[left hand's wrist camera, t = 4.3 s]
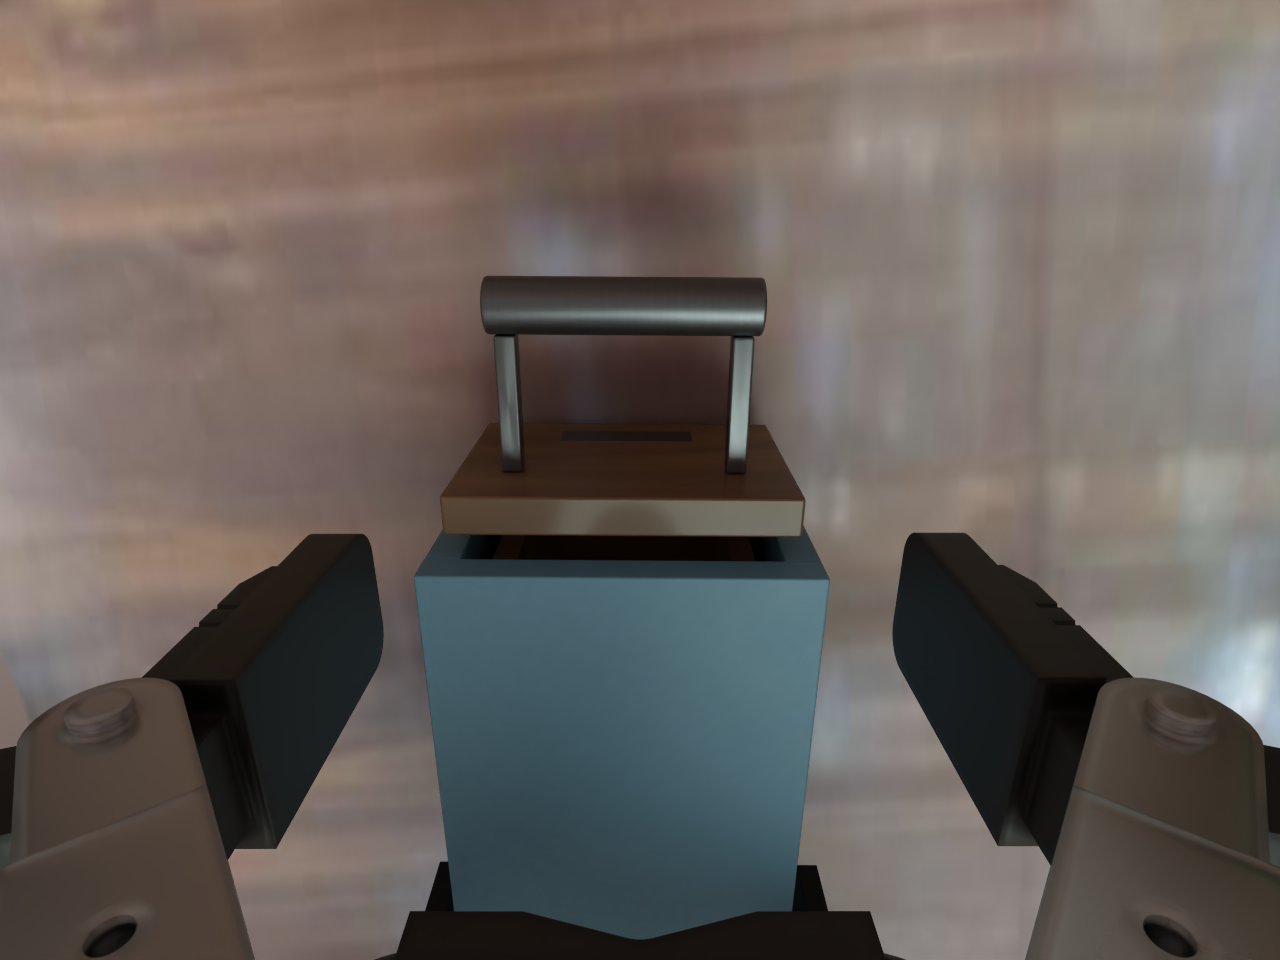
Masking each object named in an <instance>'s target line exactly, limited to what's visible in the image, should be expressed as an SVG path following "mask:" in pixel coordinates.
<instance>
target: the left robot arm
mask: <svg viewBox="0 0 1280 960" xmlns="http://www.w3.org/2000/svg"><path fill="white" fill-rule="evenodd" d="M217 606H218V607H217V609H213V610H212V611H211V612H210V613H209V614H208V615H206V616H205V617H204V618H203V619H202V620H201V621H200V622H199V627H194V628H193V629H192V630H191V631H190V632H189V633H188V634H187V635H186V636H185V637H184V638H183V639H182V640H181V641H179V642H178V643H177V644H176V645H175V646H174V647H173V648H172V649H171V650H170V651H169V652H168V653H167V654H166V655H165V656H164V657H163V658H162V659H161V660H160V661H159V662H158V663H157V664H156V665H155V666H153V667H152V668H151V669H150V670H149V671H148V672H147V673H146V674H145V675H144V676H143V677H142V678H133V679H125V680H120V681H115V682H111V683H107V684H104V685H100V686H97V687H94V688H91V689H88V690H86V691H83V692H81V693H79V694H76V695H74V696H72V697H70V698H68V699H66V700H64V701H62V702H60V703H58V704H57V705H55V706H53V707H52V708H50V709H48V710H47V711H46V712H44V713H43V714H42V715H40V716H39V717H38V718H36V719H35V720H34V721H33V722H32V723H31V724H30V725H29V726H28V727H27V728H26V729H25V731H24V732H23V733H22V735H21V737H20V738H19V740H18V743H17V746H14V747H9V748H4V749H0V960H255V958H254V955H253V951H252V947H251V944H250V940H249V936H248V933H247V929H246V925H245V922H244V918H243V914H242V911H241V907H240V903H239V900H238V896H237V892H236V889H235V885H234V881H233V878H232V874H231V870H230V867H229V863H228V859H229V857H230V856H231V854H232V853H233V851H234V849H276V848H277V846H278V844H279V843H280V841H281V839H282V837H283V836H284V834H285V832H286V830H287V828H288V827H289V825H290V823H291V821H292V819H293V818H294V816H295V814H296V812H297V811H298V809H299V807H300V805H301V803H302V802H303V800H304V798H305V796H306V794H307V793H308V791H309V789H310V787H311V786H312V784H313V782H314V780H315V778H316V777H317V775H318V773H319V771H320V769H321V768H322V766H323V764H324V762H325V761H326V759H327V757H328V755H329V753H330V752H331V750H332V748H333V746H334V744H335V743H336V741H337V739H338V737H339V735H340V734H341V732H342V730H343V728H344V727H345V725H346V723H347V721H348V719H349V718H350V716H351V714H352V712H353V710H354V709H355V707H356V705H357V703H358V702H359V700H360V698H361V696H362V694H363V693H364V691H365V689H366V687H367V685H368V684H369V682H370V680H371V678H372V677H373V675H374V673H375V671H376V669H377V667H378V665H379V662H380V658H381V654H382V648H383V635H384V633H383V622H382V615H381V608H380V601H379V595H378V588H377V581H376V574H375V568H374V561H373V554H372V549H371V545H370V542H369V540H368V538H367V537H366V536H365V535H364V534H310V535H308V536H307V537H306V538H305V539H304V540H303V541H302V542H301V543H300V544H299V545H298V546H297V547H296V548H295V549H294V550H293V551H292V552H291V553H290V554H289V555H288V556H287V557H286V558H285V559H284V560H283V561H282V562H281V563H280V564H279V565H278V566H272V567H270V568H268V569H266V570H264V571H262V572H261V573H259V574H257V575H255V576H253V577H251V578H250V579H248V580H246V581H244V582H242V583H240V584H239V585H238V586H237V587H236V588H235V589H234V590H232V591H231V592H230V593H229V594H228V595H227V596H226V597H225V598H224V599H223V600H222V601H221V602H220V603H219V604H218V605H217ZM893 646H894V652H895V657H896V660H897V663H898V666H899V668H900V670H901V672H902V673H903V675H904V677H905V679H906V681H907V682H908V684H909V686H910V688H911V690H912V691H913V693H914V695H915V697H916V699H917V700H918V702H919V704H920V706H921V708H922V710H923V711H924V713H925V715H926V717H927V719H928V720H929V722H930V724H931V726H932V728H933V729H934V731H935V733H936V735H937V737H938V738H939V740H940V742H941V744H942V746H943V748H944V749H945V751H946V753H947V755H948V757H949V758H950V760H951V762H952V764H953V766H954V767H955V769H956V771H957V773H958V775H959V776H960V778H961V780H962V782H963V784H964V785H965V787H966V789H967V791H968V793H969V795H970V796H971V798H972V800H973V802H974V804H975V805H976V807H977V809H978V811H979V813H980V814H981V816H982V818H983V820H984V822H985V823H986V825H987V827H988V829H989V831H990V833H991V834H992V836H993V838H994V840H995V842H996V843H997V845H998V846H1039V847H1040V849H1041V851H1042V852H1043V854H1044V855H1045V857H1046V859H1047V860H1048V862H1049V864H1050V865H1051V867H1050V870H1049V874H1048V878H1047V881H1046V885H1045V889H1044V892H1043V896H1042V900H1041V903H1040V907H1039V911H1038V914H1037V918H1036V922H1035V925H1034V929H1033V933H1032V936H1031V940H1030V944H1029V947H1028V951H1027V955H1026V958H1025V960H1280V748H1276V747H1271V746H1266V745H1263V743H1262V740H1261V738H1260V736H1259V735H1258V733H1257V732H1256V731H1255V729H1254V728H1253V727H1252V726H1251V725H1250V724H1249V723H1248V722H1247V721H1246V720H1245V719H1244V718H1242V717H1241V716H1240V715H1238V714H1237V713H1236V712H1234V711H1233V710H1232V709H1230V708H1228V707H1227V706H1225V705H1223V704H1222V703H1220V702H1218V701H1216V700H1214V699H1212V698H1210V697H1208V696H1206V695H1204V694H1201V693H1199V692H1197V691H1194V690H1192V689H1189V688H1186V687H1183V686H1180V685H1176V684H1173V683H1169V682H1165V681H1160V680H1155V679H1147V678H1133V677H1132V676H1131V675H1130V674H1129V673H1128V672H1127V671H1126V670H1125V669H1124V668H1123V667H1122V666H1121V665H1120V664H1119V663H1118V662H1117V661H1116V660H1115V659H1114V658H1113V657H1112V656H1111V655H1110V654H1109V653H1108V652H1107V651H1106V650H1105V649H1104V648H1103V647H1102V646H1101V645H1099V644H1098V643H1097V642H1096V641H1095V640H1094V639H1093V638H1092V637H1091V636H1090V635H1089V634H1088V633H1087V632H1086V631H1085V630H1084V629H1083V628H1082V627H1081V626H1080V625H1075V620H1074V619H1073V618H1072V617H1071V616H1070V615H1069V614H1068V613H1067V612H1065V611H1064V610H1063V609H1062V608H1058V607H1057V603H1056V602H1055V601H1054V600H1053V599H1052V598H1051V597H1050V596H1049V595H1048V594H1047V593H1046V592H1045V591H1044V590H1043V589H1042V588H1041V587H1040V586H1039V585H1038V584H1037V583H1035V582H1034V581H1032V580H1030V579H1028V578H1026V577H1024V576H1022V575H1021V574H1019V573H1017V572H1015V571H1013V570H1011V569H1010V568H1008V567H1006V566H1004V565H997V564H996V563H995V562H994V561H993V560H992V559H991V558H990V557H989V556H988V555H987V554H986V553H985V552H984V551H983V550H982V549H981V548H980V547H979V546H978V545H977V544H976V543H975V541H974V540H973V539H972V538H971V537H970V536H968V535H967V534H965V533H912V534H911V535H910V536H909V537H908V539H907V541H906V544H905V547H904V553H903V559H902V566H901V573H900V580H899V587H898V594H897V601H896V607H895V614H894V621H893ZM375 960H905V959H902V958H899V957H896V956H892V955H889V954H885V953H883V950H882V947H881V944H880V941H879V938H878V935H877V931H876V928H875V925H874V922H873V919H872V916H871V913H870V911H756V912H752V913H749V914H745V915H741V916H737V917H733V918H729V919H725V920H721V921H717V922H713V923H709V924H705V925H702V926H698V927H694V928H690V929H686V930H682V931H678V932H674V933H670V934H666V935H662V936H658V937H655V938H649V939H631V938H625V937H622V936H618V935H614V934H610V933H606V932H602V931H598V930H594V929H590V928H586V927H582V926H578V925H575V924H571V923H567V922H563V921H559V920H555V919H551V918H547V917H543V916H539V915H535V914H531V913H528V912H524V911H410V913H409V916H408V919H407V922H406V925H405V928H404V931H403V935H402V938H401V941H400V944H399V947H398V950H397V953H395V954H391V955H388V956H384V957H381V958H378V959H375Z"/></svg>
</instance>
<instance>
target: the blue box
mask: <svg viewBox="0 0 1280 960" xmlns="http://www.w3.org/2000/svg"><path fill="white" fill-rule="evenodd" d="M501 537H502V535H446V534H444V532H443V530H442V532H441V533H440V535H439V537H438V538H437V540H436V542H435V543H434V545H433V547H432V548H431V550H430V552H429V553H428V555H427V557H426V559H425V560H424V561H423V562H422V564H421V566H420V567H419V569H418V571H417V572H416V574H415V576H414V581H415V589H416V597H417V606H418V614H419V622H420V631H421V639H422V647H423V656H424V664H425V672H426V681H427V689H428V697H429V705H430V714H431V722H432V730H433V739H434V747H435V755H436V764H437V772H438V780H439V789H440V797H441V805H442V814H443V822H444V830H445V839H446V847H447V855H448V863H449V872H450V880H451V888H452V897H453V905H454V911H524V912H528V913H531V914H535V915H539V916H543V917H547V918H551V919H555V920H559V921H563V922H567V923H571V924H575V925H578V926H582V927H586V928H590V929H594V930H598V931H602V932H606V933H610V934H614V935H618V936H622V937H625V938H631V939H649V938H655V937H658V936H662V935H666V934H670V933H674V932H678V931H682V930H686V929H690V928H694V927H698V926H702V925H705V924H709V923H713V922H717V921H721V920H725V919H729V918H733V917H737V916H741V915H745V914H749V913H752V912H756V911H792V906H793V897H794V888H795V880H796V871H797V862H798V854H799V845H800V836H801V827H802V819H803V810H804V801H805V792H806V784H807V775H808V766H809V757H810V749H811V740H812V731H813V722H814V714H815V705H816V696H817V688H818V679H819V670H820V661H821V653H822V644H823V635H824V626H825V618H826V609H827V600H828V591H829V583H830V579H829V577H828V575H827V573H826V571H825V569H824V567H823V565H822V563H821V560H820V558H819V556H818V554H817V552H816V550H815V548H814V546H813V544H812V542H811V540H810V538H809V536H808V534H807V532H806V530H805V528H804V526H803V531H802V536H801V537H749V540H750V543H751V546H752V549H753V553H754V556H755V559H756V561H635V560H497V559H493V556H494V554H495V552H496V549H497V547H498V544H499V542H500V540H501Z"/></svg>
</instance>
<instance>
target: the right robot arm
mask: <svg viewBox="0 0 1280 960" xmlns="http://www.w3.org/2000/svg"><path fill="white" fill-rule="evenodd" d="M425 911H454V905H453V897H452V888H451V880H450V872H449V863H448V862H440V864H439V867H438V870H437V874H436V877H435V880H434V884H433V887H432V890H431V893H430V897H429V900H428V903H427V907H426V910H425ZM792 911H828V909H827V905H826V901H825V897H824V893H823V889H822V885H821V881H820V877H819V873H818V869H817V866H816V865H797V871H796V880H795V888H794V897H793V906H792Z"/></svg>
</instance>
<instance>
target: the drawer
mask: <svg viewBox="0 0 1280 960" xmlns="http://www.w3.org/2000/svg"><path fill="white" fill-rule="evenodd" d="M480 308H481V317H482V323H483V327H484V329H485V332H486V333H487V334H496V335H495V336H494V352H495V367H496V382H497V397H498V412H499V423H490V424H489V425H488V427H487V428H486V430H485V431H484V433H483V434H482V436H481V437H480V438H479V440H478V441H477V443H476V444H475V446H474V447H473V449H472V450H471V452H470V453H469V455H468V456H467V458H466V459H465V461H464V462H463V464H462V465H461V467H460V468H459V470H458V471H457V472H456V474H455V475H454V477H453V478H452V480H451V481H450V483H449V484H448V486H447V487H446V489H445V490H444V492H443V493H442V495H441V497H440V502H441V512H442V522H443V532H444V534H446V535H502V537H501V540H500V542H499V544H498V547H497V549H496V552H495V554H494V556H493V559H497V560H635V561H756V559H755V556H754V553H753V549H752V546H751V543H750V540H749V537H801V536H802V531H803V521H804V511H805V498H804V496H803V494H802V492H801V491H800V489H799V487H798V485H797V483H796V481H795V479H794V478H793V476H792V474H791V472H790V470H789V468H788V466H787V465H786V463H785V461H784V459H783V457H782V455H781V453H780V452H779V450H778V448H777V446H776V444H775V442H774V440H773V439H772V437H771V435H770V433H769V431H768V429H767V427H766V426H765V425H749V419H750V403H751V387H752V372H753V356H754V337H753V336H760V335H762V333H763V331H764V327H765V322H766V313H767V289H766V283H765V280H764V279H763V278H723V277H578V276H486V277H484V278H483V281H482V285H481V292H480ZM518 334H522V335H665V336H731V344H730V363H729V383H728V402H727V422H726V425H689V424H548V423H523V417H522V398H521V380H520V361H519V343H518Z"/></svg>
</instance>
